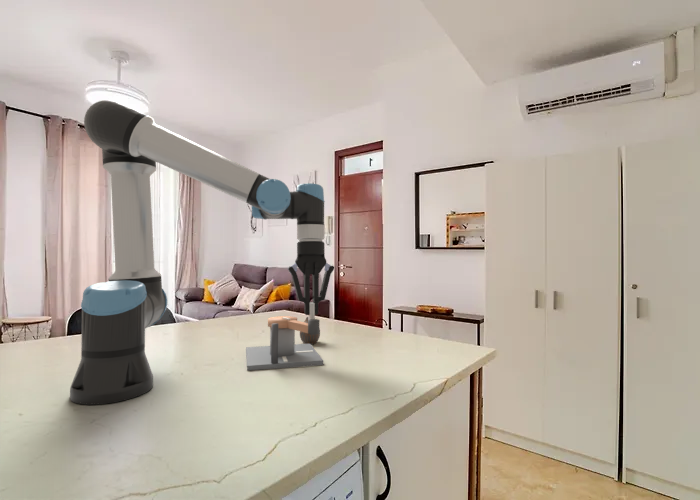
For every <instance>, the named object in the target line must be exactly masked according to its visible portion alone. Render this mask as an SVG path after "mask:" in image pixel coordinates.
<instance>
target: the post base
mask: <svg viewBox="0 0 700 500" xmlns="http://www.w3.org/2000/svg"><path fill="white" fill-rule="evenodd" d="M278 325H279V324H278V323H273V324H272V328H271V327H269V329H270V330H269V345H262V346H261V345H260V346H245V356H246V357H245V358H246V359H245V360H246V371H259V370H270V369H271V370H272V369H273V370H274V369H286V368H299V367H312V366H323V365H324V358H322V357H321V355H319V353H318V352H317V350H316V349H315V348H314V347H313V344H304V343H296V344H295V339H296V338H295V335H296V330H293V329H289V328H278Z"/></svg>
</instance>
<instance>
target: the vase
mask: <svg viewBox="0 0 700 500" xmlns="http://www.w3.org/2000/svg"><path fill="white" fill-rule="evenodd" d="M303 322H305V323H308V316H306V318H305V320H304V321H303ZM320 328H321V327H319V334H316V335H311V334H308V333H305V332H301V331H299V339H300V340H301V342H302V344H311V345H315V344H316V343H317V342H318V341H319V340H320V336H321V329H320Z"/></svg>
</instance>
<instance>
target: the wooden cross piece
mask: <svg viewBox="0 0 700 500" xmlns="http://www.w3.org/2000/svg"><path fill="white" fill-rule="evenodd" d="M273 323H278V324H279V325H278V328H289V329H293V330H295V331H298V332H300V331H301V332H305V333H308V334H311V335H316V334H319V328H320V319H318V318H315V319H309V320H308V323H305V322H304V321H300V320H298V317H295V316H289V315H287V316H286V315H283V316H281V315H278V316H272V317H269V318H267V327H268V328H270V327H271V328H272V324H273Z"/></svg>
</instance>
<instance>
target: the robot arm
mask: <svg viewBox="0 0 700 500" xmlns="http://www.w3.org/2000/svg"><path fill="white" fill-rule="evenodd" d="M83 119H84V120H83V124H84V129H85V130H84V131H85V132H86V134H87V136H88V138H89V139H90V141H91V142H93V143H94V144H95V145H96V146H97V147H99V148H101V153H102V168H103V169H104V170H106V172H108V173H109V174H110V184H111V185H110V187H111V188H110V189H111V209H112V210H111V211H112V231H113V247H114V251H113V252H114V270H115V271H114V272H113V273H112V274H111V275H110V276H109V277H108V280H107V281H103V282H96V283H93V284H91V285H89V286H87V287H86V288H85V289H84V290H83V292H82V300H81V302H80V308H81V342H80V343H81V344H80V346H81V352H80V354H81V355H80V361H79V364H78V367H77V370H76V373H75V375H74V377H73V380H72V382H71V385H70V388H69V400H70V401H71V402H72V403H75V404H79V405H89V406H90V405H105V404H112V403H118V402H123V401H127V400H130V399H133V398H136V397H140V396H142V395H143V394H146V393H148V392H149V391H150V390H152V388H153V386H154V374H153V372H152V369H151V366H150V363H149V361H148V357H147V354H146V352H145V350H146V349H145V347H146V330H147V328H150V327H152V326H154V325H155V324H156V323H157V322H159V320H161V318H162V317H163V316H164V314H165V312H166V310H167V307H168V297H167V293H166V291H165V290H164V288H163V285H162V284H163V282H162V275H161V273H160V272H158V270H156V268H155V256H154V254H155V253H154V252H155V251H154V233H153V213H152V212H153V211H152V192H151V191H152V190H151V188H152V187H151V176H152V174H154V173H155V172H156V171H157V163H158V164H160V165H163V166H164V167H167V168H169V169H171V170H173V171H176V172H178V173H180V174H182V175H184V176H187V177H189V178H191V179H193V180H195V181H198V182H200V183H202V184H204V185H206V186H208V187H211V188H213V189H215V190H218V191H219V192H221V193H224V194H226V195H229V196H230V197H232V198H234V199H237V200H239V201H242V202H244V203H246V204H248V205H250V206H251V215H252V217H253V219H257V220H258V219H259V220H260V219H262V220H296V240H299V241H297V243H296V259H295V263H293V264H291V265H290V266H287V270H288V272H289V274H290V275H291V279H292V282H293V286H294V289H295V294H296V298H297V300H298V301H299V302H302V303H303V304H304V307H303V308H304V312H303V313H304V315H305V316H307V317H308V320H309V319H316V317H315V316H316V315H319V303H320V302H322V301H325V299H326V296H327V291H328V288H329V282H330V278H331V274H332V273H333V271H334V270H335V266H334V265H331V264H329V263H328V262H327V259H326V257H325V250H326V249H325V241H323V240H325V202H326V201H325V194H324V188H323V186H322V185H320V184H317V183H300V184H297V186H296V190H295V191H291V190H290V189H289V187H288V186H287V185H286V183H285V182H283V181H282V180H281V179H276V178H269V177H268V176H265V175H263V174H260V173H259V172H256V171H254V170H252V169H250V168H248V167H246V166H244V165H242V164H240V163H237V162H235V161H233V160H232V159H229V158H227V157H226V156H224V155H221V154H219V153H216V152H215V151H213V150H210V149H208V148H206V147H204V146H202V145H200V144H198V143H196V142H194V141H192V140H189V139H187V138H185V137H183V136H182V135H180V134H177V133H175V132H173V131H171V130H169V129H167V128H164V127H163V126H161V125H158V124H156V123H155V119H154V118H153V117H152V116H149V115H148V114H145V113H143V112H142V111H140V110H138V109H136V108H134V107H133V106H131V105H129V104H127V103H126V102H123V101H120V100H117V99H109V98H108V99H102V100H98V101H96V102H94V103H93V104H92V105H90V106H89V107H88V108H87V110H86V112H85V114H84V118H83ZM298 269H299V270H300V272H301V273H302V275H303V292H302V288H301V285H300V281H299V277H298V274H297V272H298ZM323 269H324V275H323V278H322V282H321V287H320V285H319V284H320V283H319V278H320V274H321V272H322V271H323ZM311 275H312V302H311V293H310V292H311V291H310V290H311V289H310V288H311V286H310V281H311V279H310V278H311ZM319 287H320V288H319ZM319 289H320V291H319Z"/></svg>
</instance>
